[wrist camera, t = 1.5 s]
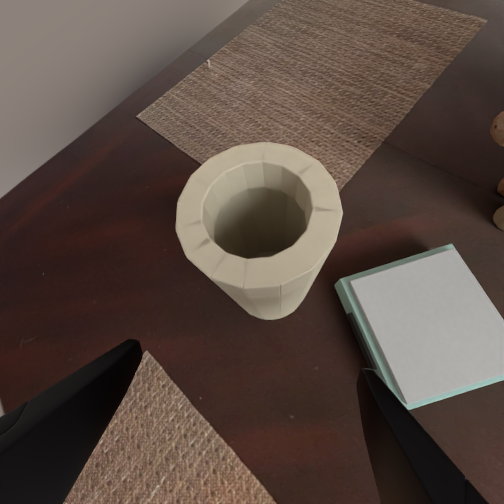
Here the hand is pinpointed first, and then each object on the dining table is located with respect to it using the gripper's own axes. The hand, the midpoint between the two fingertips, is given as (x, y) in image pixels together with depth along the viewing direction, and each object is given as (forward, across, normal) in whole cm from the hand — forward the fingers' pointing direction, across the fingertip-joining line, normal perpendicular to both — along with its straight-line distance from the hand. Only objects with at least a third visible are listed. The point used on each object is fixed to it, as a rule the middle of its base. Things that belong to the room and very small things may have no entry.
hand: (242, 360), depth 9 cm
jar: (+13, 0, +4) cm, 14 cm away
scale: (+11, -13, +6) cm, 18 cm away
